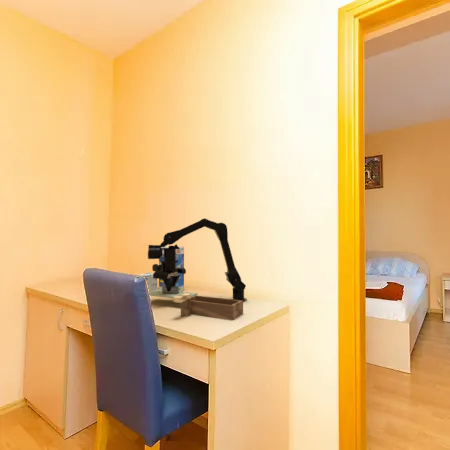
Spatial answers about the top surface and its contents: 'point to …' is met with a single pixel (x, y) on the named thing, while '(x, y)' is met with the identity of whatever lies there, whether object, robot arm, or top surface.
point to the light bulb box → (150, 281)
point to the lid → (171, 294)
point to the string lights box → (178, 265)
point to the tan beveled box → (182, 297)
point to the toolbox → (212, 307)
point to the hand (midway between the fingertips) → (170, 290)
